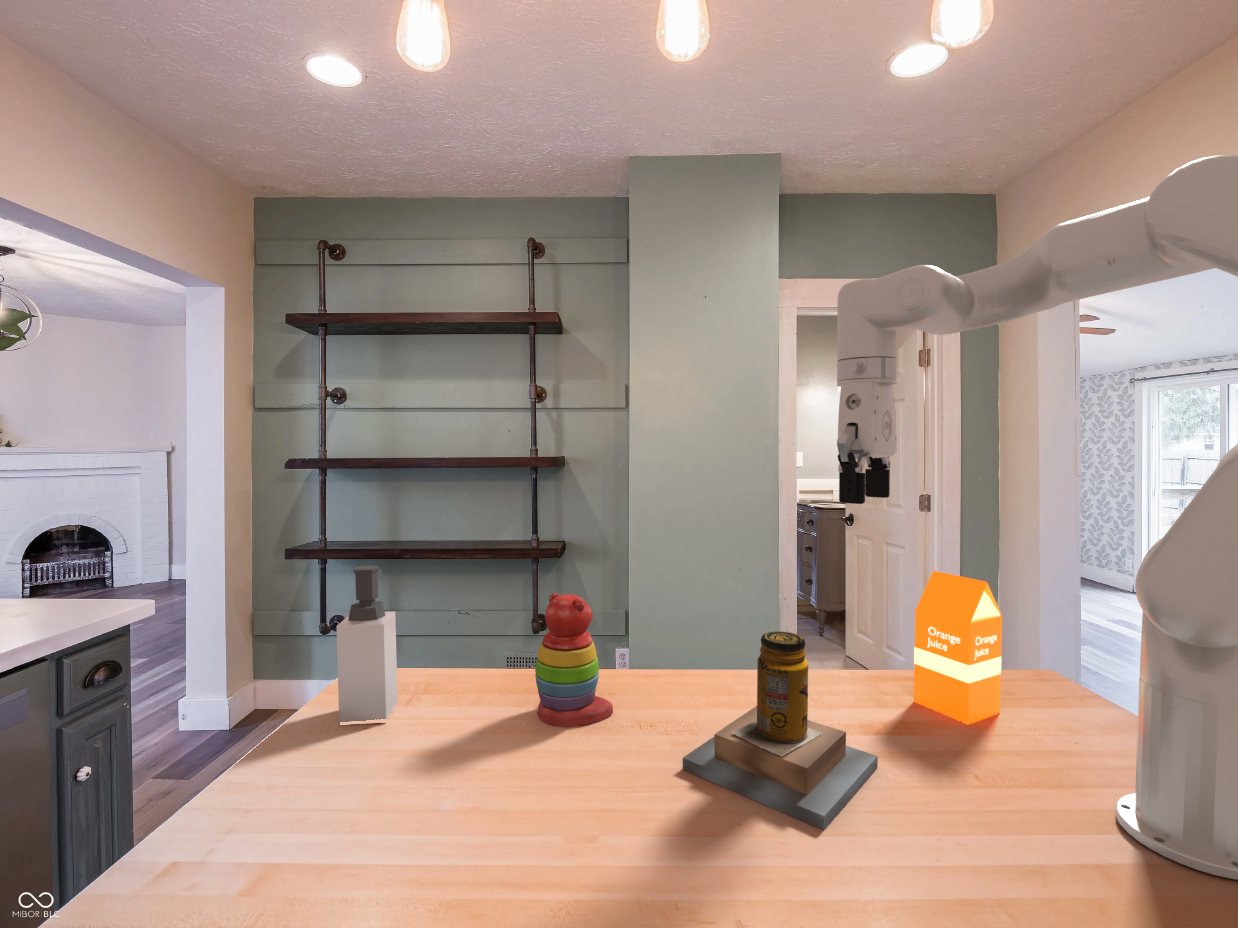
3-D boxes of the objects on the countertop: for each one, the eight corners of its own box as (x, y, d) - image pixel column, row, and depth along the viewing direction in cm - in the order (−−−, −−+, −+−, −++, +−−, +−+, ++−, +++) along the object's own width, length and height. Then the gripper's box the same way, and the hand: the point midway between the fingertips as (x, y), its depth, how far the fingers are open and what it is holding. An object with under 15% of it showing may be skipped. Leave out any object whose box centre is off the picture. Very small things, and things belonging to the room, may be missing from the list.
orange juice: (967, 725, 88) (970, 585, 87) (912, 701, 96) (914, 572, 95) (1001, 713, 92) (1004, 578, 91) (945, 691, 99) (947, 567, 99)
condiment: (822, 734, 76) (823, 637, 76) (781, 758, 71) (782, 654, 70) (772, 714, 82) (772, 624, 81) (731, 734, 76) (731, 638, 76)
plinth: (877, 767, 77) (878, 731, 77) (823, 829, 65) (824, 787, 65) (748, 723, 89) (748, 692, 89) (682, 769, 77) (682, 733, 77)
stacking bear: (619, 712, 93) (618, 594, 92) (567, 736, 85) (566, 608, 85) (571, 691, 100) (570, 582, 99) (520, 712, 93) (518, 594, 92)
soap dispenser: (401, 697, 98) (398, 559, 97) (386, 723, 90) (382, 571, 89) (358, 699, 98) (355, 560, 97) (339, 725, 89) (335, 573, 88)
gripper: (872, 367, 75) (871, 507, 76) (914, 376, 89) (913, 496, 89) (813, 371, 80) (812, 503, 81) (861, 380, 93) (860, 493, 94)
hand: (865, 499), depth 85 cm, fingers open, 9 cm apart
